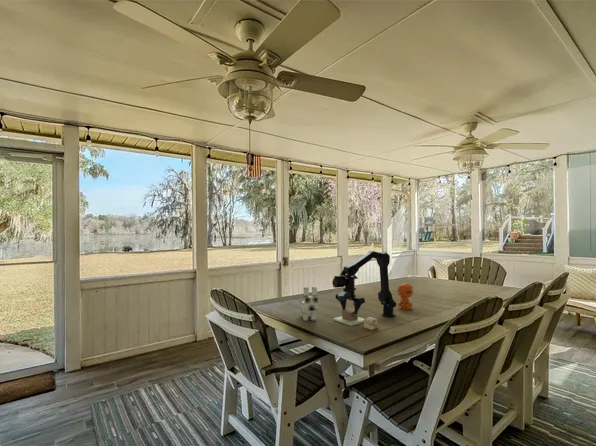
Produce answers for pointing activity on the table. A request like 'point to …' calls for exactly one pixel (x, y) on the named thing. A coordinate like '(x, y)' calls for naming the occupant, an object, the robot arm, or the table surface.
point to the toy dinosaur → (405, 296)
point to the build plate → (353, 322)
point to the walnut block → (349, 314)
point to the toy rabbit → (309, 304)
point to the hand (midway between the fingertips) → (349, 312)
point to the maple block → (370, 323)
